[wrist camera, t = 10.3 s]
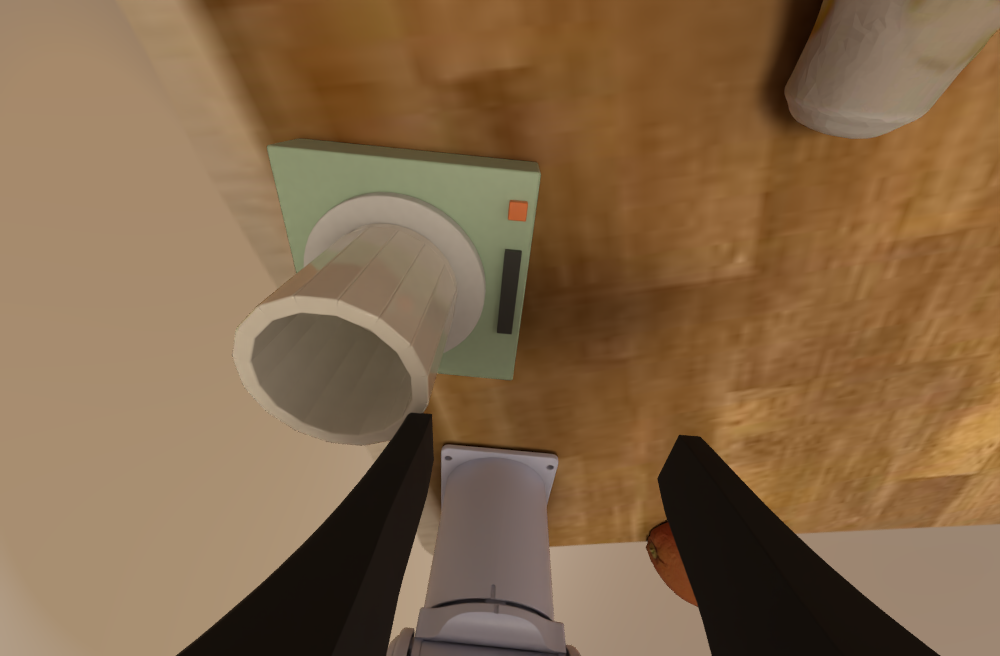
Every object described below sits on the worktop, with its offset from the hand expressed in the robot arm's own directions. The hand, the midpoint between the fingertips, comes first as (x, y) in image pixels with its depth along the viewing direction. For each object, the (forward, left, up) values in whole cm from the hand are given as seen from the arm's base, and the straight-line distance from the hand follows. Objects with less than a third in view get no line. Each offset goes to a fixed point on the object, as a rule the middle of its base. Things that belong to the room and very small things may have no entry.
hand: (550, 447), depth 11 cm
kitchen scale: (+1, +6, -9) cm, 11 cm away
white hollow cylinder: (+1, +6, -6) cm, 9 cm away
